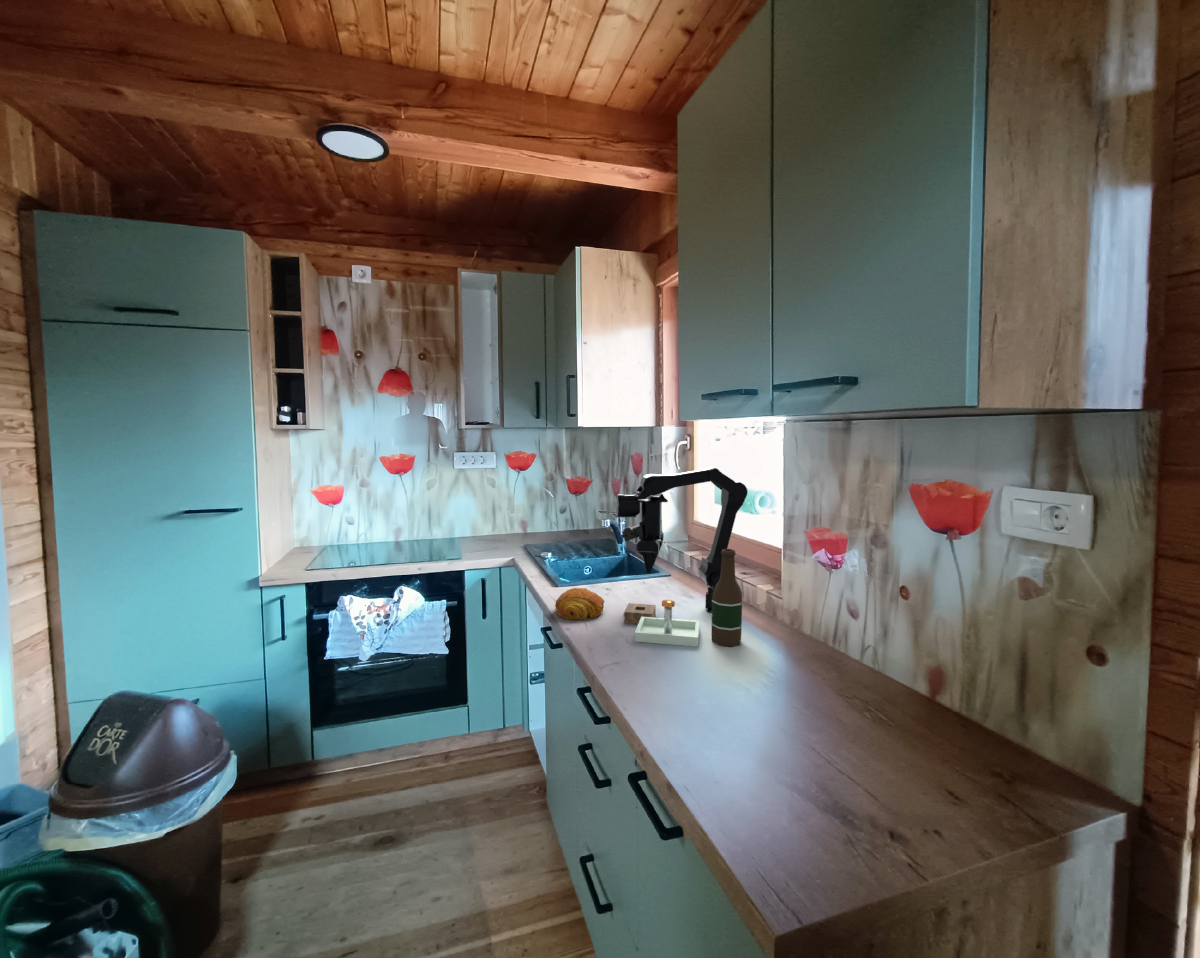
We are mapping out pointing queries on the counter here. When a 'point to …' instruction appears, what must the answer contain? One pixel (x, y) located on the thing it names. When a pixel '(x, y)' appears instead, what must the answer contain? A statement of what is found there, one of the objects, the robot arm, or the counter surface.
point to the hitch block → (638, 612)
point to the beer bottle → (727, 604)
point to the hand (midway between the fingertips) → (650, 568)
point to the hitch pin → (668, 615)
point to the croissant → (579, 604)
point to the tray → (654, 633)
